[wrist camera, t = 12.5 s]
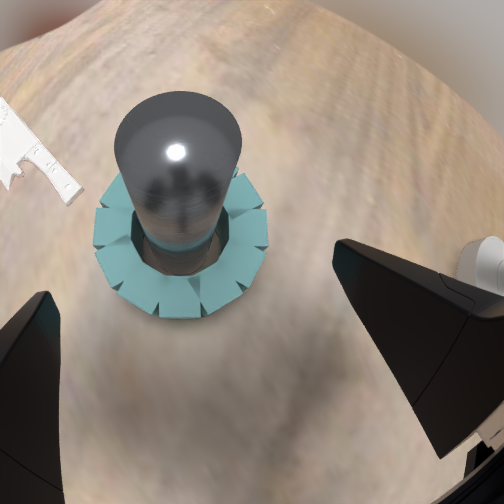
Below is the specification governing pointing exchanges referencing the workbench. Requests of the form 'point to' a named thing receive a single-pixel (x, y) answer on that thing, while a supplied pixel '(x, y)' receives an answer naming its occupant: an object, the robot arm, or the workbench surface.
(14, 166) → the butcher knife
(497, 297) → the robot arm
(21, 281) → the workbench surface
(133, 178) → the shiny metal cylinder
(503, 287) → the wall hook
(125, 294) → the teal notched ring
